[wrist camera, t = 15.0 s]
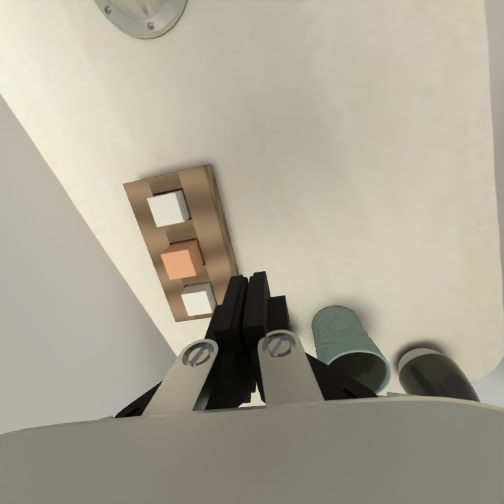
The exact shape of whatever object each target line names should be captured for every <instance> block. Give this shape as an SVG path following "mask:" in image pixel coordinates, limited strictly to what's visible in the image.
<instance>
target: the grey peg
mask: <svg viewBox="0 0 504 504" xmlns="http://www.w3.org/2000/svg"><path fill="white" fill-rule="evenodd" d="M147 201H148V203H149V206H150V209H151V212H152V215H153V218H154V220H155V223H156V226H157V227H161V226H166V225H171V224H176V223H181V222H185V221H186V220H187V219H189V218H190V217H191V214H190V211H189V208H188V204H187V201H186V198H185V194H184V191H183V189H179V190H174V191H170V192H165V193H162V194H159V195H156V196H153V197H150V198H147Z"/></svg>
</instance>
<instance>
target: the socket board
mask: <svg viewBox="0 0 504 504" xmlns="http://www.w3.org/2000/svg"><path fill="white" fill-rule="evenodd" d="M123 186H124V188H125V191H126V193H127V196H128V199H129V201H130V204H131V207H132V209H133V212H134V214H135V217H136V220H137V222H138V225H139V227H140V230H141V233H142V235H143V238H144V241H145V243H146V246H147V248H148V251H149V254H150V256H151V259H152V262H153V264H154V267H155V269H156V272H157V275H158V277H159V280H160V282H161V285H162V288H163V290H164V293H165V296H166V298H167V301H168V303H169V306H170V309H171V311H172V314H173V316H174V319H175V322H181V321H188V320H195V319H202V318H210V317H212V316H213V313H214V310H215V307H216V305H221V304H222V302H223V299H224V296H225V293H226V290H227V287H228V283H229V280H230V277H231V276H237V275H239V273H238V269H237V265H236V261H235V257H234V253H233V249H232V245H231V241H230V237H229V233H228V229H227V225H226V221H225V217H224V213H223V209H222V205H221V201H220V197H219V193H218V189H217V185H216V181H215V177H214V173H213V169H212V165H206V166H200V167H196V168H192V169H187V170H183V171H178V172H174V173H169V174H165V175H160V176H156V177H152V178H147V179H143V180H138V181H134V182H129V183H125V184H123ZM179 188H183V191H184V194H185V198H186V201H187V204H188V208H189V211H190V214H191V217H190V218H189V219H187V220H186V221H185V222H181V223H176V224H171V225H166V226H161V227H157V226H156V223H155V220H154V218H153V215H152V212H151V209H150V206H149V203H148V201H147V198H150V197H153V196H156V195H159V194H162V193H165V192H167V191H170V190H175V189H179ZM194 238H198V241H199V244H200V248H201V251H202V254H203V258H204V261H205V262H204V264H203V265H202V267H201V269H200V270H199V272H198V273H197V275H196V276H191V277H184V278H178V279H172V280H170V279H169V276H168V274H167V271H166V268H165V265H164V263H163V260H162V257H161V254H162V253H163V252H164V251H165V250H166V249H167V248H168V247H169V246H171V245H172V244H173V243H174V242H178V241H183V240H189V239H194ZM209 281H211V284H212V288H213V291H214V294H215V298H216V304H215V307H214V310H213V312H212V313H208V314H201V315H193V316H188V313H187V310H186V308H185V305H184V302H183V299H182V296H181V294H182V292H183V291H184V289H185V288H186V286H187V285H190V284H196V283H203V282H209Z"/></svg>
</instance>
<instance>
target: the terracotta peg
mask: <svg viewBox="0 0 504 504" xmlns="http://www.w3.org/2000/svg"><path fill="white" fill-rule="evenodd" d="M161 257H162V260H163V263H164V265H165V268H166V271H167V274H168V276H169V279H170V280H172V279H178V278H184V277H191V276H196V275H197V273H198V272H199V270H200V269H201V267H202V265H203V264H204V262H205V261H204V258H203V254H202V251H201V248H200V244H199V241H198V238H194V239H189V240H183V241H178V242H174V243H173V244H172V245H171V246H169V247H168V248H167V249H166V250H165V251H164V252H163V253H162V254H161Z"/></svg>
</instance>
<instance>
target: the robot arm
mask: <svg viewBox="0 0 504 504" xmlns="http://www.w3.org/2000/svg"><path fill="white" fill-rule="evenodd" d="M94 1H95V2H96V4H97V6H98V7H99V9H100V10H101V12H102V13H103V14H104V15H105V17H106V18H107V19H108V20H109V21H110V22H111V23H112V24H114V25H115V26H116V27H117V28H119V29H120V30H121V31H122V32H124V33H126V34H128V35H130V36H133V37H137V38H144V39H150V38H154V37H158V36H160V35H162V34H164V33H166V32H167V31H168V30H169V29H170V28H172V27H173V26H174V24H175V23H176V22H177V20H178V19H179V17H180V15H181V13H182V11H183V9H184V7H185V3H186V0H94ZM153 27H154V29H153V30H152V28H153ZM256 383H257V387H258V390H259V392H260V396H261V400H262V401H263V402H264V403H266V405H264V406H251V407H239V406H240V405H241V404H242V403H250V401H251V393H253V392H255V391H256ZM238 407H239V408H238ZM0 504H504V408H502V407H498V406H493V405H488V404H485V403H480V402H476V401H470V400H463V399H455V398H448V397H432V396H417V395H409V394H400V393H392V392H387V396H381V395H376V394H375V393H374V392H373V391H372V390H371V389H369V388H368V387H366V386H365V385H363V384H361V383H359V382H358V381H356V380H354V379H352V378H350V377H349V376H347V375H345V374H343V373H341V372H340V371H338V370H336V369H334V368H332V367H331V366H329V365H327V364H325V363H323V362H322V361H320V360H318V359H316V358H314V357H313V356H311V355H309V354H307V353H305V351H304V349H303V346H302V344H301V341H300V339H299V337H298V336H297V335H296V334H295V333H293V332H291V328H290V321H289V315H288V309H287V304H286V298H285V295H284V296H277V297H271V296H270V291H269V286H268V281H267V276H266V272H265V271H263V272H256V273H254V275H253V276H250V279H249V282H248V278H247V277H244V278H243V275H237V276H231V277H230V280H229V283H228V287H227V290H226V293H225V296H224V299H223V302H222V304H221V305H216V307H215V310H214V313H213V316H212V318H211V321H210V324H209V327H208V330H207V333H206V335H205V338H204V339H202V340H198V341H195V342H193V343H191V344H189V345H188V346H187V347H185V348H184V349H183V350H182V352H181V353H180V354H179V356H178V358H177V359H176V361H175V362H174V364H173V366H172V367H171V369H170V370H169V372H168V374H167V375H166V377H165V379H164V380H163V381H162V382H160V383H159V384H157V385H156V386H155V387H153V388H152V389H151V390H149V391H148V392H146V393H145V394H143V395H142V396H141V397H139V398H138V399H136V400H135V401H134V402H132V403H131V404H129V405H128V406H127V407H125V408H124V409H123V410H122V411H120V412H119V413H118V414H117V415H116V416H115V417H114V418H113V416H109V417H106V418H102V419H99V420H92V421H81V422H71V423H63V424H55V425H47V426H40V427H33V428H26V429H22V430H17V431H12V432H8V433H5V434H1V435H0Z"/></svg>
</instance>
